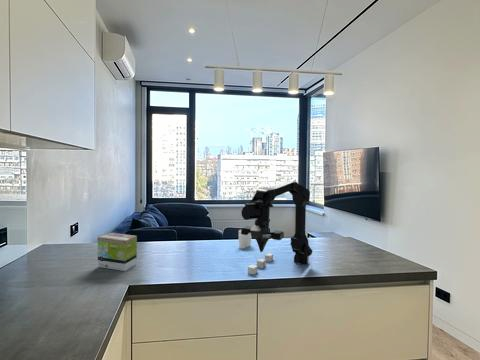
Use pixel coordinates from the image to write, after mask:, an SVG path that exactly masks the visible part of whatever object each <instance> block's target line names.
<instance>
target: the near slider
mask: <svg viewBox="0 0 480 360" xmlns="http://www.w3.org/2000/svg"><path fill="white" fill-rule="evenodd" d="M258 268H259V267H258V266H257V264H250V265H249V266H247V274H249V275H253V276H254V275H256V274H257V273H258V270H259V269H258Z"/></svg>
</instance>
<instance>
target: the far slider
mask: <svg viewBox="0 0 480 360" xmlns="http://www.w3.org/2000/svg"><path fill="white" fill-rule="evenodd" d="M264 259H266V262H268V263H271V262H272V261H274V254H273V253H270V252H268V253H265V254H264Z"/></svg>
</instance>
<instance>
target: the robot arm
mask: <svg viewBox="0 0 480 360" xmlns="http://www.w3.org/2000/svg"><path fill="white" fill-rule="evenodd" d="M310 191H311V190H309V189H308V188H306V187H304V186H303V185H301V184H299V183H298V182H297V181H296V180H287V181H285V182H283V183H281V184H278V185H275V186H271V187H266V188H265V187H262V188H258V189H257V190H256V191H255V194H254V196H253V197H252V199H251V200H250V202H249V203H245V204H244V206H243V207H242V210H241V216H242V219H244V220H245V221H246V220H247V221H248V220H254V219H255V221H254V224H253V225H252V226H249V225H247V226H244V227H242V228H241V229H240V230H241V234H243V235H248V234H249V233H251V236H252V237H251V238H252V239H255V241H256V243H257V246H258V249H259V252H260V253H262V252H264V249H265V247H266V245H267V243H268V241H269V240H270V239H272V240H275V241H281V240H282V239H284V238H285V233H284V231H282V230H274V231H270V230H271V228H270V222H271V219H270V208H273V207H274V204H273V203H272V202H273V201H274V200H275V199H276V197H279V196H282V195H283V194H287V193H289V194H291V196H292V202H293V203H294V206H295V213H294V215H295V217H294V218H295V222H294V225H295V227H294V235H293V236H292V237H290V246H291V250H292V253H294V255H293V263H295V264H298V265H303V266H304V265H308V264H309V262H310V261H309V258H310V256H312V254H313V249H312V248H311V246H310V245H309V239H308V237H307V235H306V221H307V220H306V217H307V216H306V215H307V214H306V213H307V212H306V211H307V210H306V208H307V205H308V203H309V202H310V195H311V192H310Z"/></svg>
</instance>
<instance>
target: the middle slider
mask: <svg viewBox="0 0 480 360" xmlns="http://www.w3.org/2000/svg"><path fill="white" fill-rule="evenodd" d="M266 264H267V261H266V259H265V258H259V259H257V260H256V265H257V266H258V268H261V269H263V268H265V267H266Z"/></svg>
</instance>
